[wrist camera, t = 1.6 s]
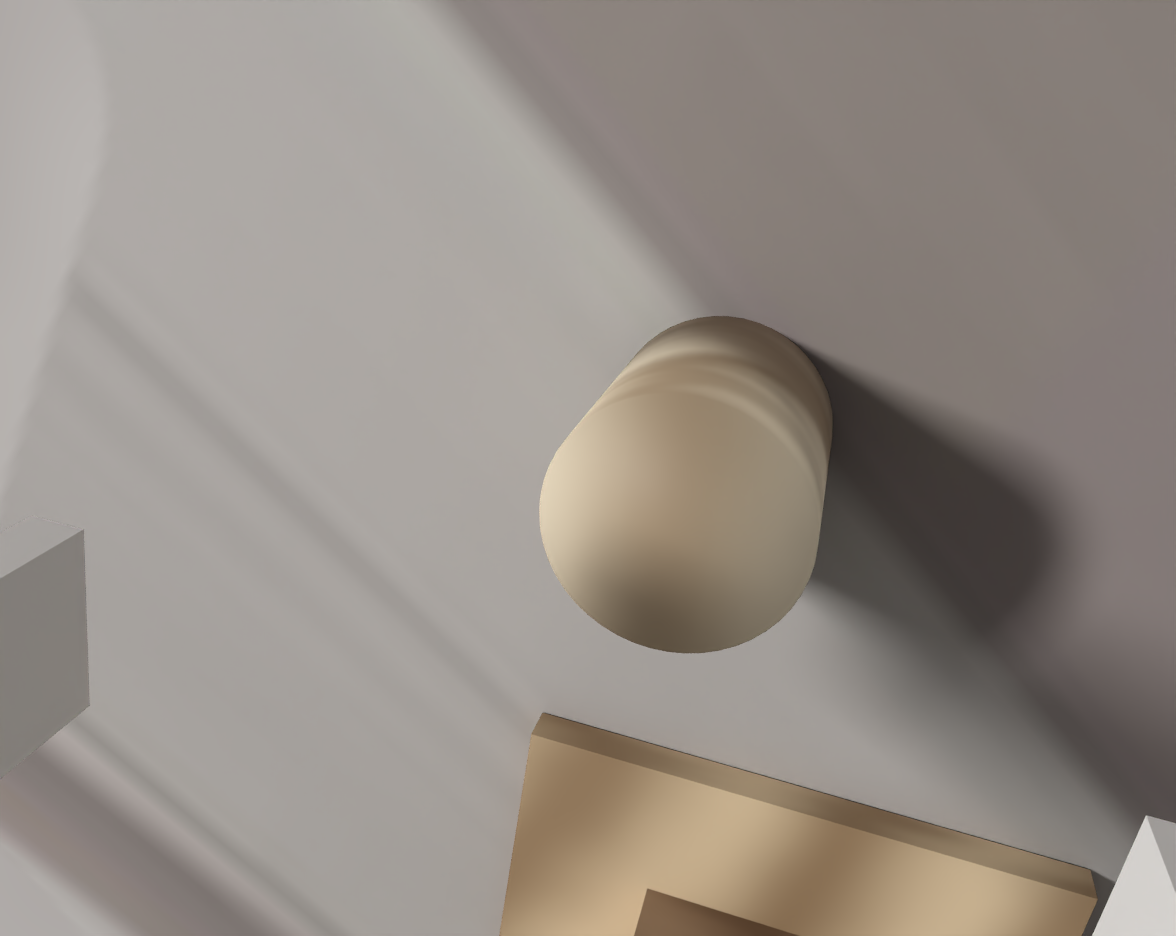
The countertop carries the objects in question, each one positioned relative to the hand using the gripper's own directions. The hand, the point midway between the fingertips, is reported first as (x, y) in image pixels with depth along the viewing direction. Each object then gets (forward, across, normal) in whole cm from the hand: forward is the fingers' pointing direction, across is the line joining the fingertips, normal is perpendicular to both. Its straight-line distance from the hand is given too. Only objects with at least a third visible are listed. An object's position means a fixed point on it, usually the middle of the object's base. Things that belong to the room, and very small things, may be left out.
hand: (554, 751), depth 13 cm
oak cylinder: (+13, 0, 0) cm, 13 cm away
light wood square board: (+13, +4, -16) cm, 21 cm away
